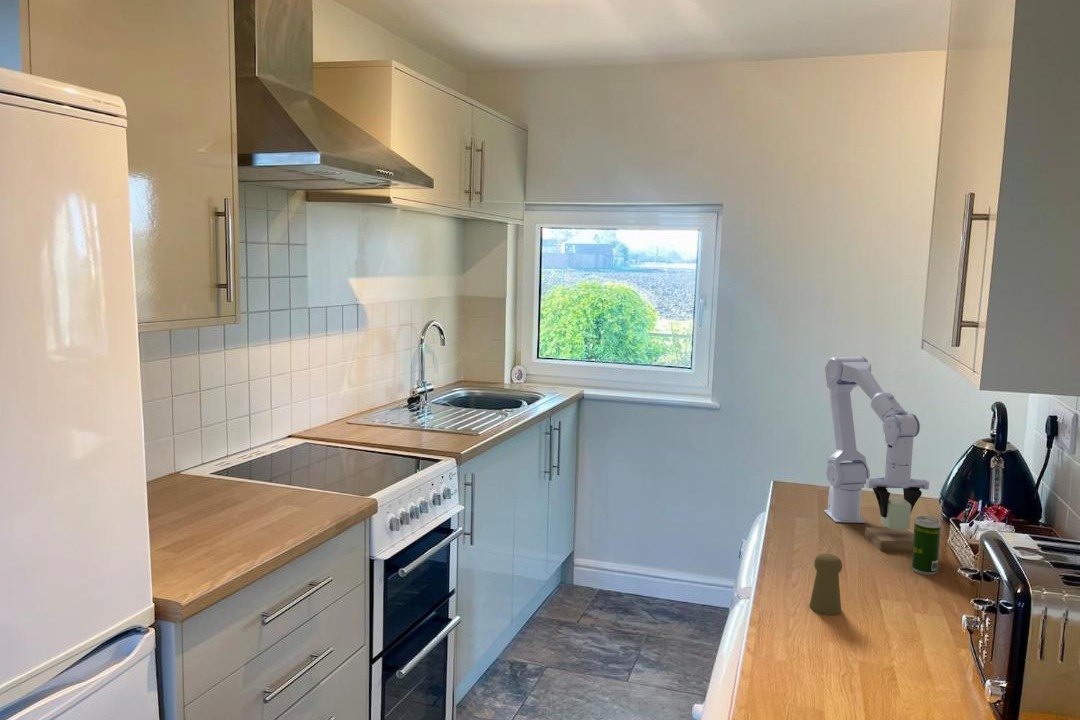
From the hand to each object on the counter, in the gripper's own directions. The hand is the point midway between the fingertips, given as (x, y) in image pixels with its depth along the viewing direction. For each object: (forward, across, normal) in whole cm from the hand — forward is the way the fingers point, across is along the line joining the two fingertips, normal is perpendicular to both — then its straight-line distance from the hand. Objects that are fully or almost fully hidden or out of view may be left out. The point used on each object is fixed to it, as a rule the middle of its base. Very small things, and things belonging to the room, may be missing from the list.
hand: (894, 516), depth 193 cm
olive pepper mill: (+7, -29, -38) cm, 48 cm away
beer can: (+7, 0, -17) cm, 18 cm away
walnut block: (+8, 0, 0) cm, 8 cm away
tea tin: (+2, 0, 0) cm, 2 cm away
